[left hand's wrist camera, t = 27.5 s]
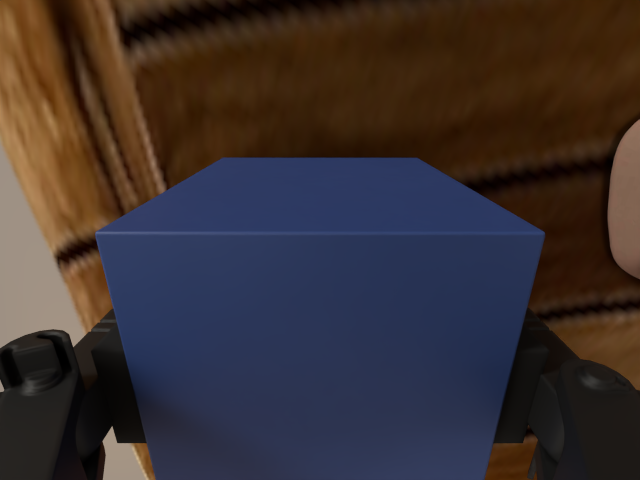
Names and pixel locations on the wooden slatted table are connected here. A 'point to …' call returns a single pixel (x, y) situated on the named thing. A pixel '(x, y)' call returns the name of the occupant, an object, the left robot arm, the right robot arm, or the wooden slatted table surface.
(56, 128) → the wooden slatted table surface
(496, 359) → the block
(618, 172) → the anatomical model
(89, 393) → the left robot arm
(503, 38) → the wooden slatted table surface
